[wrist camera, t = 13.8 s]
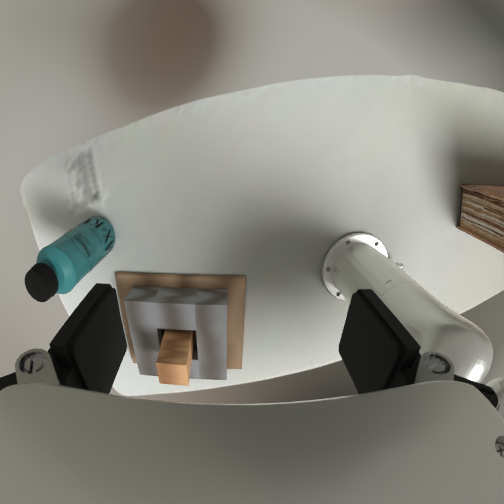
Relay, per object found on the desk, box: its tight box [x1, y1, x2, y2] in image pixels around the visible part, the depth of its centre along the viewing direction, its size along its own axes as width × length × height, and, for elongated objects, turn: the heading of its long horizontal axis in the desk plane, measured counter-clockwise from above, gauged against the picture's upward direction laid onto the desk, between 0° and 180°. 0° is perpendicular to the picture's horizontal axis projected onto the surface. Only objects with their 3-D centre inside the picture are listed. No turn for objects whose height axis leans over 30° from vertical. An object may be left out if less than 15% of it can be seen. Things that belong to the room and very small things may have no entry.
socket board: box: [116, 272, 246, 380], centre depth 47 cm, size 22×20×6 cm
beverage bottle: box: [25, 217, 115, 302], centre depth 33 cm, size 6×7×20 cm
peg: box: [156, 329, 195, 386], centre depth 43 cm, size 4×4×12 cm
